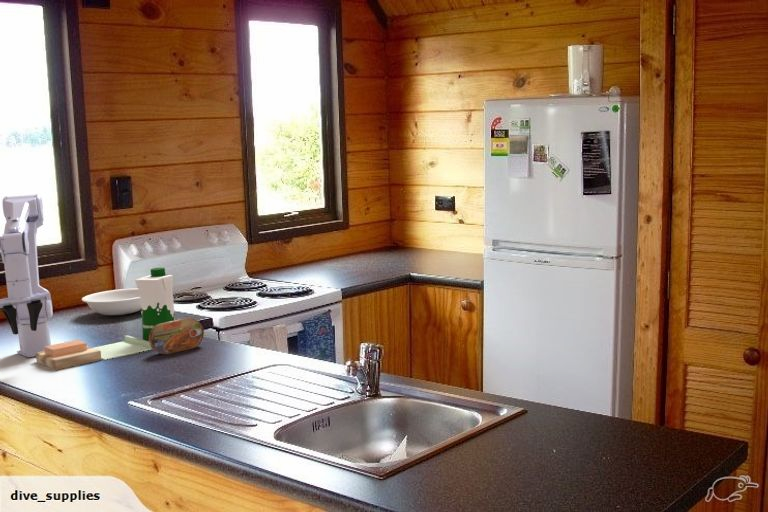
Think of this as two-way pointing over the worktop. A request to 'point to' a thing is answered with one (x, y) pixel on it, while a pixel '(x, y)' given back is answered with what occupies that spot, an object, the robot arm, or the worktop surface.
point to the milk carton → (155, 299)
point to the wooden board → (69, 358)
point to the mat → (124, 348)
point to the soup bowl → (114, 301)
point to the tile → (65, 348)
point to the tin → (176, 335)
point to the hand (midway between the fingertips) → (24, 332)
